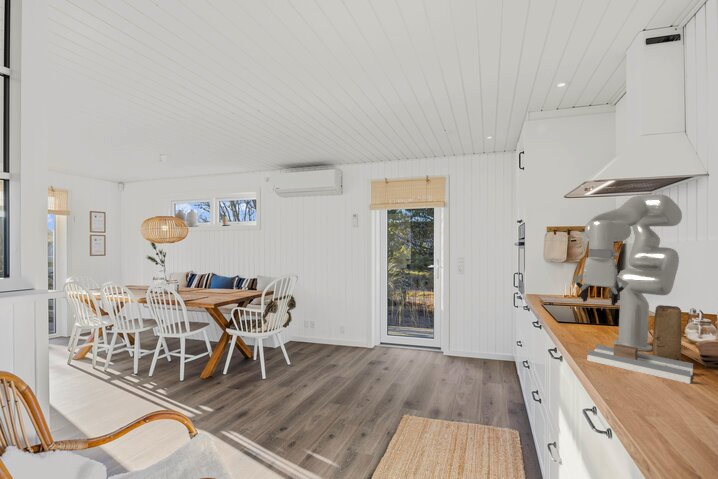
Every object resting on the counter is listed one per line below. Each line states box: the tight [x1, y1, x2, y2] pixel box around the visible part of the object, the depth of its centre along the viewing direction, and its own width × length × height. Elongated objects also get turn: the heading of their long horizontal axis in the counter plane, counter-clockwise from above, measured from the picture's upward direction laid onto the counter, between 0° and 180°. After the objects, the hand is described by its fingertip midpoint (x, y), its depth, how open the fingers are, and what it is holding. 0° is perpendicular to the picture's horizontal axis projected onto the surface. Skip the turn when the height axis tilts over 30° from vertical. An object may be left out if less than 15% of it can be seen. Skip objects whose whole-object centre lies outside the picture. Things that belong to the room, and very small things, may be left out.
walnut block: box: [613, 344, 639, 360], centre depth 127 cm, size 5×6×4 cm
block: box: [652, 304, 682, 361], centre depth 130 cm, size 11×8×20 cm
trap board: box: [586, 344, 694, 385], centre depth 125 cm, size 12×27×4 cm, turn 45°
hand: (598, 302), depth 133 cm, fingers open, 8 cm apart
